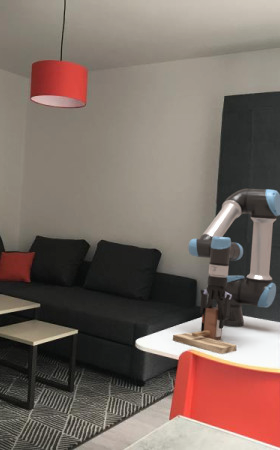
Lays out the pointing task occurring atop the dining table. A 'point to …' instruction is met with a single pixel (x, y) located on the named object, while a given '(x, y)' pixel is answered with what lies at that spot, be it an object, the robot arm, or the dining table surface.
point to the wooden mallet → (209, 324)
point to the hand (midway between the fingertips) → (212, 334)
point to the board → (205, 343)
